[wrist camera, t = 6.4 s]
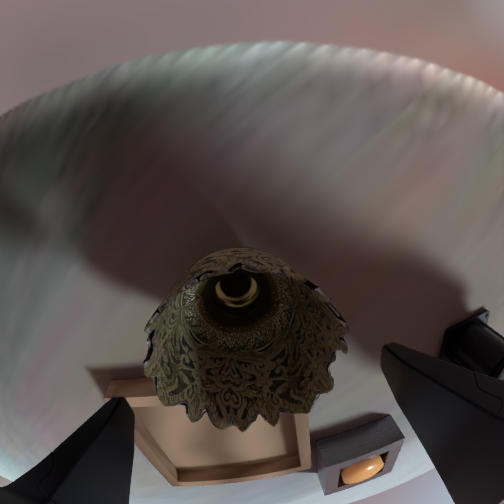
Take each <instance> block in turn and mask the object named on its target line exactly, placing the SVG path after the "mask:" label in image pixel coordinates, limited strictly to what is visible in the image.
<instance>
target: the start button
mask: <svg viewBox="0 0 504 504" xmlns="http://www.w3.org/2000/svg"><path fill="white" fill-rule="evenodd" d="M383 466H384V463H383V461H382V459H381V457H380V455H378V456H375V457H373V458H370V459H368V460H365V461H362V462H360V463H357V464H354V465H351V466H348V467H345V468H342V469H340V474H341V476H342V479H343V481H344V483H346V484H353V483H357V482H360V481H363V480H366V479H368V478H370V477H371V476H373V475H375V474H376V473H377V472H379V471H380V470H381V469H382V467H383Z"/></svg>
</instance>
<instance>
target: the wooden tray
mask: <svg viewBox="0 0 504 504" xmlns="http://www.w3.org/2000/svg"><path fill="white" fill-rule="evenodd" d="M114 396H123V397H125V398H126V400H127V401H128V403H129V405H130V406H131V408H132V410H133V411H134V414H135V434H134V442H135V444H136V445H137V446H138V447H139V449H140V450H141V451H142V452H143V454H144V455H145V456H146V457H147V458H148V460H149V461H150V462H151V463H152V464H153V466H154V467H155V468H156V469H157V470H158V471H159V472H160V473H161V475H162V476H163V477H164V478H165V479H166V480H167V481H168V482H169V483H170V484H171V485H172V486H200V485H216V484H227V483H236V482H244V481H251V480H258V479H264V478H270V477H275V476H280V475H285V474H290V473H294V472H298V471H303V470H307V469H310V468H312V462H311V448H310V435H309V422H308V414H295V415H292V414H289V413H281V414H280V417H279V420H278V423H277V425H276V426H275V427H273V426H271V425H270V424H269V423H268V422H266V421H265V420H264V418H263V417H261V415H260V414H259V415H258V417H257V419H256V421H255V422H253V423H252V424H251V425H250V427H249V428H248V429H247V430H246V431H245V432H241V431H240V430H239V429H238V428H237V427H236V426H234V425H233V426H231V427H230V428H227V429H225V430H220V429H218V428H216V427H215V426H213V425H212V423H211V421H210V419H209V417H208V415H207V412H205V414H204V415H203V416H202V418H201V419H200V421H197V422H196V423H192V422H191V421H190V420H189V419H188V417H187V414H186V412H185V411H186V408H185V406H181V405H176V406H168V407H167V406H164V405H163V404H162V403H161V401H160V400H159V398H158V396H157V394H156V392H155V389H154V383H153V377H148V378H136V379H122V380H111V382H110V384H109V386H108V389H107V391H106V393H105V396H104V400H105V401H106V403H107V402H108V401H109V400H110V399H111V398H112V397H114ZM204 411H206V410H204ZM204 411H203V412H204ZM203 412H202V413H203Z"/></svg>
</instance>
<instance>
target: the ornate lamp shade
mask: <svg viewBox="0 0 504 504" xmlns="http://www.w3.org/2000/svg"><path fill="white" fill-rule="evenodd" d="M231 274H244V275H246V276H247V277H248V279H249V282H250V286H249V289H248V291H247V292H246V293H245V294H244V295H242V296H239V297H232V296H229V295H227V294H226V293H225V292H224V290H223V288H222V280H223V278H224V277H226V276H228V275H231ZM330 300H331V298H330V297H329V296H328V295H327V294H326V293H325V292H324V291H323V290H322V289H321V288H320V287H318V286H316V285H314V284H313V283H312V282H310V281H309V280H308V279H307V278H305V277H304V276H303V275H302V274H301V273H299V272H298V271H297V270H295V269H294V268H293V267H291V266H290V265H289V264H287V263H286V262H284V261H283V260H281V259H279V258H278V257H276V256H274V255H272V254H269V253H267V252H265V251H261V250H258V249H252V248H241V247H238V248H228V249H223V250H220V251H216V252H214V253H211V254H209V255H207V256H205V257H203V258H201V259H200V260H199V261H197V262H196V263H195V264H193V265H192V266H191V267H190V268H189V269H188V270H187V271H186V272H185V273H184V274H183V275H182V276H181V277H180V279H179V280H178V281H177V282H176V284H175V285H174V286H173V288H172V289H171V290H170V292H169V293H168V295H167V296H166V297H165V299H164V300H163V302H162V303H161V304H160V306H159V307H158V308H157V310H156V311H155V312H154V314H153V315H152V317H151V318H150V320H149V321H148V323H147V325H146V327H145V330H144V331H145V332H146V333H147V334H149V335H148V338H147V343H148V353H147V357H146V359H145V360H144V362H143V368H144V374H145V377H153V383H154V389H155V392H156V394H157V396H158V398H159V400H160V401H161V403H162V404H163V405H164V406H167V407H168V406H176V405H181V406H185V408H186V411H185V412H186V414H187V417H188V419H189V420H190V421H191V422H192V423H196V422H197V421H200V419H201V418H202V416H203V415H204V414H205V412H207V415H208V417H209V419H210V421H211V423H212V425H213V426H215V427H216V428H218V429H220V430H225V429H227V428H230V427H231V426H233V425H234V426H236V427H237V428H238V429H239V430H240V431H241V432H245V431H246V430H247V429H248V428H249V427H250V425H251V424H252V423H253V422H255V421H256V419H257V417H258V415H259V414H260V415H261V417H263V418H264V420H265V421H266V422H268V423H269V424H270V425H271V426H273V427H275V426H276V425H277V423H278V420H279V417H280V414H281V413H289V414H292V415H295V414H308V413H309V412H311V410H312V409H313V407H314V405H315V403H316V400H317V399H318V398H319V395H320V394H323V393H328V392H329V391H331V390H332V389H333V387H334V379H333V378H332V376H331V373H330V370H329V367H330V365H331V363H332V362H334V361H335V360H336V351H337V350H342V351H343V353H345V354H347V352H348V348H347V344H346V342H345V340H344V339H343V337H344V336H345V335H346V334H348V333H349V328H348V325H347V323H346V321H345V320H344V318H343V317H342V316H341V314H340V313H339V312H338V311H337V310H336V309H335V308H334V306H333V305H332V304H331V302H330ZM342 336H343V337H342ZM204 410H206V411H204ZM203 411H204V412H203ZM202 412H203V413H202Z"/></svg>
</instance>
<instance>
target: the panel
mask: <svg viewBox="0 0 504 504" xmlns="http://www.w3.org/2000/svg"><path fill="white" fill-rule="evenodd" d="M404 439H405V437H404V435H403V434H402V432H401V431H400V429H399V427H398V426H397V424H396V423H395V421H394V419H393V418H392V416H391V415H388V416H386V417H384V418H381V419H379V420H376V421H374V422H371V423H368V424H366V425H363V426H360V427H357V428H355V429H352V430H349V431H346V432H343V433H340V434H337V435H333V436H330V437H327V438H323V439H320V440H316V447H317V474H318V477H319V480H320V483H321V486H322V489H323V492H324V495H329V494H332V493H335V492H338V491H342V490H345V489H348V488H351V487H354V486H356V485H359V484H362V483H365V482H367V481H370V480H372V479H375V478H377V477H380V476H382V475H384V474H387V473H389V472H391V470H392V468H393V466H394V463H395V461H396V459H397V456H398V454H399V452H400V449H401V447H402V444H403V441H404ZM378 455H380V457H381V459H382V461H383V463H384V466H383V467H382V469H381V470H380V471H379V472H377V473H376V474H375V475H373V476H371V477H370V478H368V479H366V480H363V481H360V482H357V483H353V484H346V483H344V481H343V479H342V476H341V474H340V469H342V468H345V467H348V466H351V465H354V464H357V463H360V462H362V461H365V460H368V459H370V458H373V457H375V456H378Z"/></svg>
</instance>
